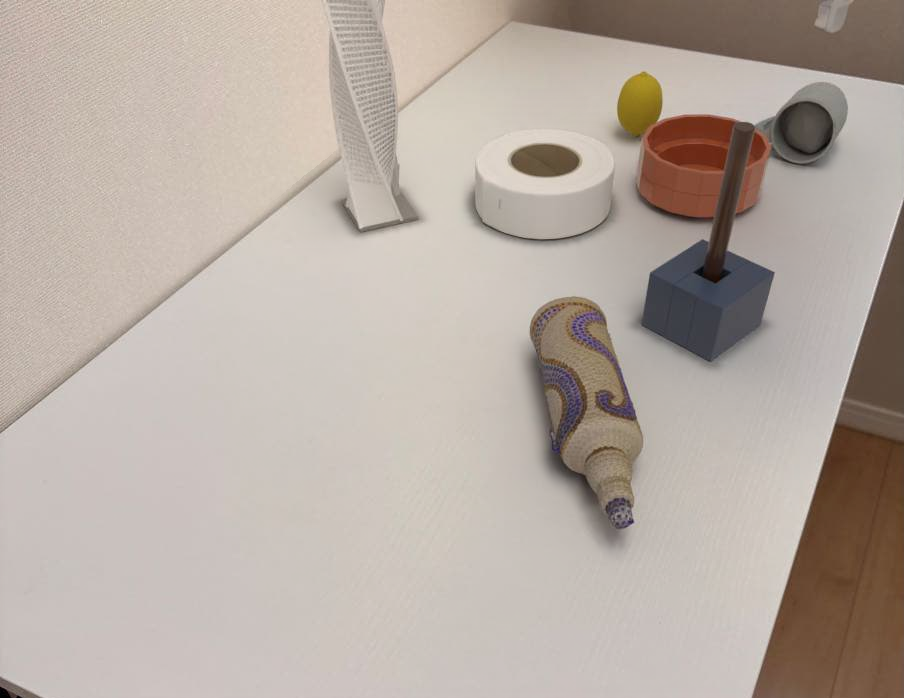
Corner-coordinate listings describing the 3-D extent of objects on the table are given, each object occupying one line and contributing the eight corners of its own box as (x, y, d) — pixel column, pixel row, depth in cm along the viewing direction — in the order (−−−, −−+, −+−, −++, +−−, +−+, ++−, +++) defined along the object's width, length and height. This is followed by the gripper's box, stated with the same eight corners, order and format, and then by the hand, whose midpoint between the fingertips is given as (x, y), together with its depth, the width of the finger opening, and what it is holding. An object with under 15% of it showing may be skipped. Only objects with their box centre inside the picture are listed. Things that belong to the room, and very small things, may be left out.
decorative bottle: (524, 353, 91) (528, 294, 86) (601, 349, 91) (609, 290, 86) (566, 555, 74) (574, 496, 69) (661, 549, 74) (675, 489, 69)
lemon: (628, 122, 123) (636, 58, 117) (665, 134, 121) (675, 70, 115) (605, 138, 120) (612, 73, 114) (642, 151, 118) (651, 85, 112)
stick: (713, 324, 94) (759, 126, 79) (702, 332, 93) (747, 133, 78) (698, 317, 95) (741, 119, 80) (687, 324, 94) (729, 126, 79)
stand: (760, 324, 94) (775, 272, 89) (710, 362, 90) (722, 308, 85) (691, 290, 98) (702, 238, 93) (641, 324, 94) (649, 272, 89)
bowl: (782, 191, 111) (795, 141, 106) (710, 237, 104) (721, 186, 100) (684, 151, 118) (692, 103, 113) (611, 192, 111) (617, 142, 107)
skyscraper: (422, 225, 107) (410, -54, 86) (354, 240, 105) (325, -41, 84) (398, 191, 112) (380, -80, 91) (333, 205, 110) (299, -69, 89)
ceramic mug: (841, 142, 118) (859, 79, 113) (825, 170, 114) (843, 106, 108) (758, 126, 122) (772, 64, 116) (739, 152, 117) (752, 89, 112)
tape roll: (446, 203, 110) (445, 157, 106) (541, 158, 117) (544, 114, 113) (541, 257, 102) (544, 210, 98) (638, 206, 109) (644, 160, 105)
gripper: (1000, -197, 59) (919, 38, 69) (727, -242, 68) (692, -31, 79) (951, -180, 56) (874, 63, 66) (674, -230, 66) (645, -12, 76)
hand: (773, 12), depth 73 cm, fingers open, 8 cm apart
